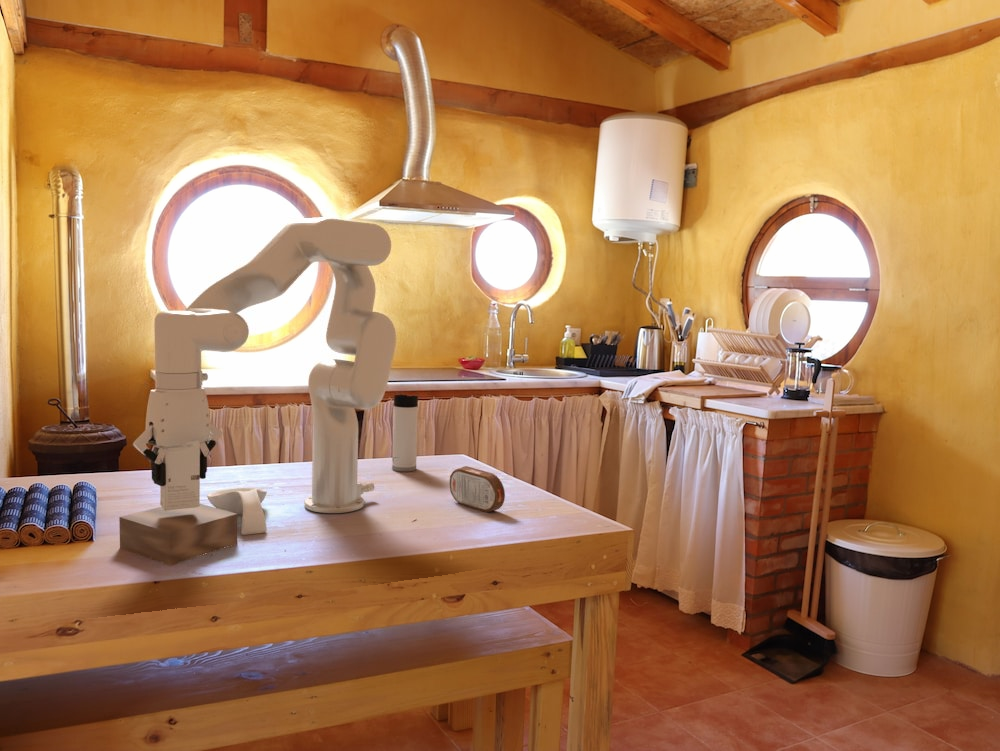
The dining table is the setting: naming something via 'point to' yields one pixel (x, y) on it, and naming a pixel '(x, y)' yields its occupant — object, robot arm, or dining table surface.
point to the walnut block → (177, 532)
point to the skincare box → (181, 477)
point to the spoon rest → (243, 506)
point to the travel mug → (404, 433)
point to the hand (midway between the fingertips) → (180, 480)
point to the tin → (477, 489)
